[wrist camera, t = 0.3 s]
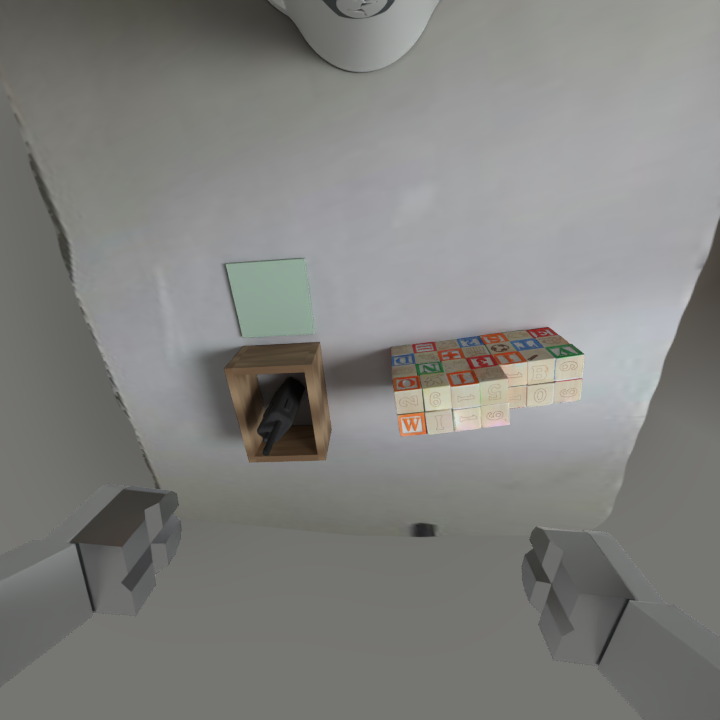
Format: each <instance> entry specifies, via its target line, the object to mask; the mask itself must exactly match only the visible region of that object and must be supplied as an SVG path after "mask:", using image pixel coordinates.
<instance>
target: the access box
mask: <svg viewBox="0 0 720 720" xmlns="http://www.w3.org/2000/svg"><path fill="white" fill-rule="evenodd" d="M224 371H225V375H226V378H227V382H228V386H229V389H230V393H231V397H232V400H233V404H234V408H235V412H236V415H237V419H238V423H239V426H240V430H241V434H242V437H243V441H244V445H245V449H246V452H247V456H248V460H249V462H282V461H318V460H326V456H327V451H328V446H329V440H330V435H331V430H332V429H331V422H330V414H329V407H328V399H327V392H326V384H325V377H324V369H323V362H322V354H321V347H320V342H313V343H294V344H275V345H255V346H243V347H242V348H241V349H240V350H239V352H238V353H237V354H236V355H235V356H234V357H233V359H232V360H231V361H230V362H229V363H228V365H227V366H226V367H225V368H224ZM299 372H305V378H306V384H307V390H308V397H309V403H310V409H311V415H312V422H313V425H301V426H291V427H290V428H289V429H288V430H287V431H286V433H285V434H284V435H283V436H282V437H281V438H280V440H279V441H278V442H276V443H274V444H273V446H272V449H271V451H270V454H269V455H268V456H264V455H263V454H262V452H263V449H264V447H265V445H266V443H265V442H263V437H261V436H260V435H258V433H257V429H258V427H259V425H260V423H261V421H262V419H263V414H264V412H265V409H264V405H263V401H262V396H261V392H260V387H259V383H258V379H257V374H277V373H299Z"/></svg>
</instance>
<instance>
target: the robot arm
mask: <svg viewBox="0 0 720 720" xmlns="http://www.w3.org/2000/svg"><path fill="white" fill-rule="evenodd" d="M268 1H269V2H270V3H271V4H272V5H273V6H274V7H276V8H277V9H278V10H280V11H281V12H283V13H284V14H286V15H287V16H289V17H290V18H291V19H292V20H293V22H294V23H295V24H296V26H297V27H298V29H299V30H300V32H301V33H302V35H303V37H304V38H305V40H306V41H307V42H308V44H309V45H310V46H311V47H312V48H313V49H314V50H315V52H316V53H317V54H319V55H320V56H321V57H322V58H323V59H325V60H326V61H328V62H329V63H331V64H332V65H334V66H336V67H339V68H341V69H344V70H348V71H354V72H368V71H374V70H378V69H381V68H383V67H386V66H388V65H390V64H392V63H393V62H395V61H396V60H398V59H399V58H400V57H402V56H403V55H404V54H405V53H406V52H407V51H408V50H409V49H410V48H411V47H412V46H413V45H414V43H415V42H416V41H417V39H418V38H419V37H420V35H421V34H422V32H423V30H424V29H425V27H426V25H427V23H428V21H429V19H430V17H431V15H432V12H433V10H434V9H435V7H436V5H437V3H438V2H439V0H268ZM178 506H179V503H178V497H177V493H175V492H173V491H168V490H160V489H151V488H143V487H135V486H123V485H115V484H107V485H104V486H102V487H100V488H99V489H98V490H97V491H96V492H95V493H94V494H92V496H90V497H89V498H88V499H87V500H86V501H85V502H84V503H82V504H81V505H80V506H79V507H78V508H77V509H76V510H75V511H74V512H72V513H71V514H70V515H69V516H68V517H67V518H66V519H65V520H63V521H62V522H61V523H60V524H59V525H58V526H57V527H56V528H55V529H53V530H52V531H51V532H50V533H49V534H48V535H47V536H46V537H45V538H44V539H43V540H32V541H30V542H28V543H26V544H23V545H21V546H19V547H17V548H15V549H13V550H10V551H8V552H6V553H4V554H1V555H0V687H1V686H2V685H4V684H5V683H6V682H8V681H9V680H10V679H12V678H13V677H14V676H16V675H17V674H18V673H20V672H21V671H22V670H23V669H25V668H26V667H27V666H29V665H30V664H31V663H33V662H34V661H35V660H36V659H38V658H39V657H40V656H41V655H43V654H44V653H46V652H47V651H48V650H49V649H51V648H52V647H53V646H55V645H56V644H57V643H59V642H60V641H61V640H62V639H64V638H65V637H66V636H68V635H69V634H70V633H72V632H73V631H74V630H75V629H77V628H78V627H79V626H81V625H82V624H83V623H84V622H86V621H87V620H88V619H90V618H91V617H92V616H93V613H102V614H115V615H129V616H136V615H137V614H138V612H139V610H140V609H141V607H142V606H143V604H144V603H145V601H146V600H147V598H148V596H149V595H150V593H151V592H152V590H153V589H154V587H155V586H156V579H155V574H156V573H158V572H160V571H161V570H163V569H164V568H166V567H167V566H168V565H169V564H170V562H171V560H172V559H173V557H174V555H175V554H176V551H177V548H178V545H179V542H180V539H181V531H182V527H181V520H180V519H179V518H178V517H177V516H176V515H175V514H174V511H175V510H176V509H177V507H178ZM530 542H531V544H532V546H533V549H532V550H530V551H529V552H528V553H526V554H525V556H524V560H523V563H522V581H523V585H524V590H525V593H526V595H527V598H528V600H529V603H531V605H532V606H533V607H534V608H536V610H537V611H539V613H541V617H540V620H539V624H538V625H539V627H540V630H541V632H542V635H543V637H544V639H545V641H546V644H547V647H548V649H549V651H550V654H551V656H552V659H553V660H556V661H563V662H571V663H578V664H585V665H592V666H598V670H599V671H600V672H601V673H602V674H603V676H604V677H606V679H607V680H608V681H609V682H610V683H611V684H612V686H613V687H614V688H615V689H616V690H617V691H618V692H619V693H620V694H621V696H622V697H623V698H624V699H625V700H626V701H627V702H628V703H629V705H630V706H631V707H632V708H633V709H634V710H635V711H636V712H637V713H638V715H639V716H640V717H642V719H643V720H720V636H718V635H717V634H715V633H714V632H712V631H711V630H709V629H708V628H707V627H705V626H704V625H702V624H701V623H700V622H698V621H697V620H695V619H694V618H692V617H691V616H689V615H688V614H687V613H685V612H684V611H682V610H681V609H679V608H678V607H677V606H675V605H672V604H666V603H665V602H664V601H663V600H662V598H661V597H660V596H659V594H658V593H657V592H656V590H655V589H654V588H653V587H652V585H651V584H650V583H649V582H648V580H647V579H646V578H645V577H644V575H643V574H642V573H641V571H640V570H639V569H638V568H637V566H636V565H635V564H634V562H633V561H632V560H631V559H630V557H629V556H628V555H627V554H626V552H625V551H624V550H623V548H622V547H621V546H620V545H619V543H618V542H617V541H616V539H615V538H614V537H613V536H611V535H610V534H608V533H607V532H598V531H586V530H582V531H580V530H572V529H560V528H549V527H538V526H536V527H535V529H534V530H533V531H532V533H531V536H530Z"/></svg>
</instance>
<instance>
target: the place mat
mask: <svg viewBox="0 0 720 720" xmlns="http://www.w3.org/2000/svg"><path fill="white" fill-rule="evenodd" d="M226 268H227V272H228V276H229V281H230V285H231V289H232V293H233V298H234V302H235V306H236V310H237V315H238V319H239V323H240V328H241V332H242V336H243V338H247V337H266V336H285V335H304V334H314V333H315V329H314V322H313V314H312V307H311V300H310V293H309V285H308V278H307V271H306V263H305V258H298V259H283V260H269V261H254V262H240V263H227V264H226Z"/></svg>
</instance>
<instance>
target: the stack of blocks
mask: <svg viewBox="0 0 720 720" xmlns="http://www.w3.org/2000/svg"><path fill="white" fill-rule="evenodd" d="M584 356H585V355H584V353H582V352H581V351H580V350H579V349H577V348H576V347H575V346H573V345H572V344H569V343H568V342H567V341H566V340H565V339H564V338H562V337H561V336H560V335H558V334H557V333H555V332H554V331H553V330H552V329H551V328H549V327H546V328H539V329H532V330H526V331H525V330H520V331H513V332H505V333H497V334H489V335H481V336H477V337H470V338H462V339H457V340H448V341H440V342H428V343H421V344H413V345H404V346H396V347H391V357H392V358H391V361H392V368H391V371H392V381H393V388H394V396H395V403H396V410H397V415H398V423H399V430H400V436H401V437H402V436H412V435H421V434H429V435H431V434H439V433H447V432H453V431H454V430H455V431H464V430H472V429H480V428H486V427H494V426H502V425H509V409H511V408H520V407H533V406H542V405H551V404H553V403H563V402H572V401H580V397H581V388H582V380H583V379H582V375H583V366H584Z"/></svg>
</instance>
